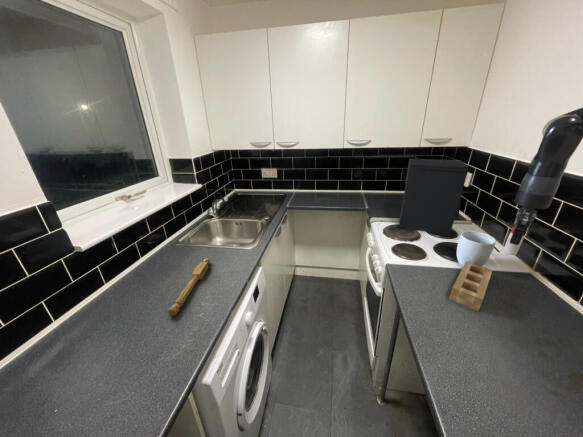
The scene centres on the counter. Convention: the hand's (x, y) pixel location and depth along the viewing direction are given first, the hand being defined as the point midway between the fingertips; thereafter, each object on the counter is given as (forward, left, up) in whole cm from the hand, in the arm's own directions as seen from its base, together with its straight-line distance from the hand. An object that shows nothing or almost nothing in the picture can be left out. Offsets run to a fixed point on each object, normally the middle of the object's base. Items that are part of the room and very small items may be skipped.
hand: (514, 241), depth 74 cm
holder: (+6, +6, -20) cm, 21 cm away
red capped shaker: (0, 0, -4) cm, 4 cm away
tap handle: (+83, +74, -20) cm, 113 cm away
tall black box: (+34, -40, -20) cm, 56 cm away
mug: (+9, -12, -20) cm, 25 cm away
